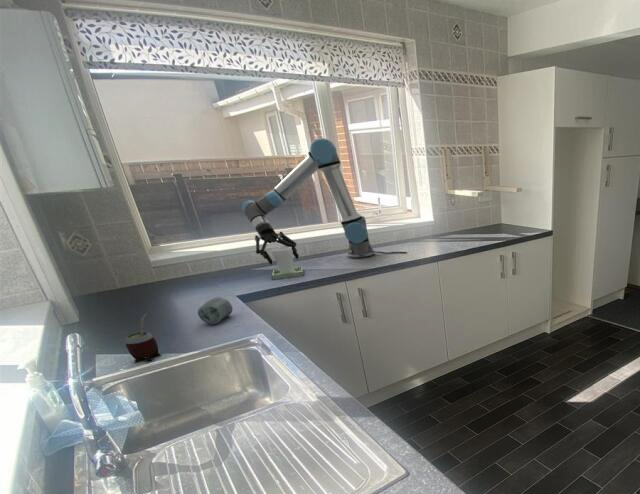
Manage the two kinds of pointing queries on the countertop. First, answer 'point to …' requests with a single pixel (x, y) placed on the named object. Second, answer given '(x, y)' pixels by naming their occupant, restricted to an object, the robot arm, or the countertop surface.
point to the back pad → (278, 275)
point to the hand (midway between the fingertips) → (284, 260)
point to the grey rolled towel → (215, 310)
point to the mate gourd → (142, 344)
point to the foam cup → (284, 259)
